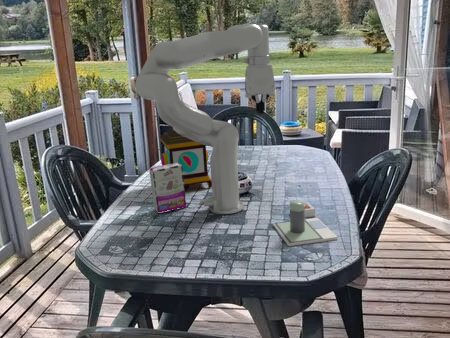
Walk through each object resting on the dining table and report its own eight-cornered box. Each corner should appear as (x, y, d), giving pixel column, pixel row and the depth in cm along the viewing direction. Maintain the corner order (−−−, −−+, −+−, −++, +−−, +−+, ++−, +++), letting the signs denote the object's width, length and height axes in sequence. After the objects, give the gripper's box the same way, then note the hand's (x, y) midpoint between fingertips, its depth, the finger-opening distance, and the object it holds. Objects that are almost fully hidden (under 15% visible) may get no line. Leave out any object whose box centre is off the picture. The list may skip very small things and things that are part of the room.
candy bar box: (181, 204, 167) (177, 162, 162) (186, 207, 162) (183, 165, 158) (153, 210, 162) (148, 167, 157) (157, 214, 158) (153, 170, 153)
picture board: (288, 246, 128) (288, 243, 127) (273, 225, 142) (273, 223, 142) (337, 239, 130) (337, 236, 130) (317, 219, 145) (317, 217, 145)
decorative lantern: (203, 176, 200) (198, 110, 192) (216, 188, 182) (211, 116, 174) (159, 182, 195) (152, 114, 186) (168, 196, 176) (160, 121, 168)
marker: (293, 234, 133) (292, 206, 131) (288, 228, 137) (287, 201, 135) (306, 232, 134) (306, 204, 131) (301, 226, 138) (301, 199, 136)
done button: (300, 215, 148) (300, 207, 148) (297, 212, 151) (297, 203, 151) (309, 214, 149) (309, 205, 148) (306, 210, 152) (306, 202, 151)
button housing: (297, 218, 147) (297, 211, 146) (292, 211, 153) (291, 204, 152) (315, 216, 148) (315, 208, 147) (308, 209, 154) (308, 202, 153)
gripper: (240, 63, 151) (242, 116, 156) (282, 60, 154) (283, 112, 159) (235, 62, 158) (238, 113, 163) (275, 59, 161) (277, 110, 166)
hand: (260, 113), depth 161 cm, fingers closed
